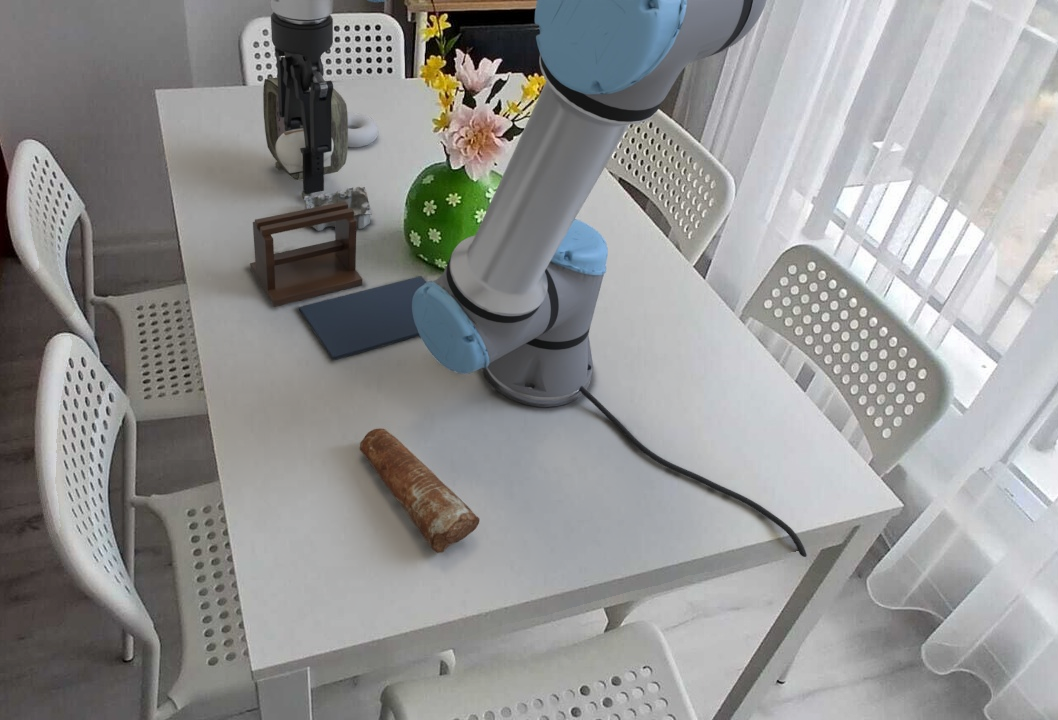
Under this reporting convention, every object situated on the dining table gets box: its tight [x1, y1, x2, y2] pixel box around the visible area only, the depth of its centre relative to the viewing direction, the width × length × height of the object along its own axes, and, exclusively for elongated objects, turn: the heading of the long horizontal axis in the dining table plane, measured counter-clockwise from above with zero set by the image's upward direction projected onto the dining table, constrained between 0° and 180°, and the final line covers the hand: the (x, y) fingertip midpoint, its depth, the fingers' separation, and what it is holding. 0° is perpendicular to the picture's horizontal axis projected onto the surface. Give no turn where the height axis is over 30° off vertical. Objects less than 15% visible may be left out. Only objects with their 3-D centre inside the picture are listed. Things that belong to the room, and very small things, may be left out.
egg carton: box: [303, 186, 373, 232], centre depth 147 cm, size 11×8×4 cm
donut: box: [347, 111, 379, 148], centre depth 169 cm, size 10×4×10 cm
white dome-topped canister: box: [276, 128, 334, 173], centre depth 121 cm, size 5×8×5 cm, turn 121°
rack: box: [249, 201, 363, 308], centre depth 132 cm, size 10×14×11 cm
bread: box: [359, 427, 480, 554], centre depth 104 cm, size 6×19×6 cm, turn 34°
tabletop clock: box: [262, 76, 349, 200], centre depth 148 cm, size 14×9×25 cm, turn 33°
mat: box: [298, 275, 427, 361], centre depth 130 cm, size 12×20×1 cm, turn 121°
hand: (305, 181), depth 125 cm, fingers closed on white dome-topped canister, 5 cm apart
